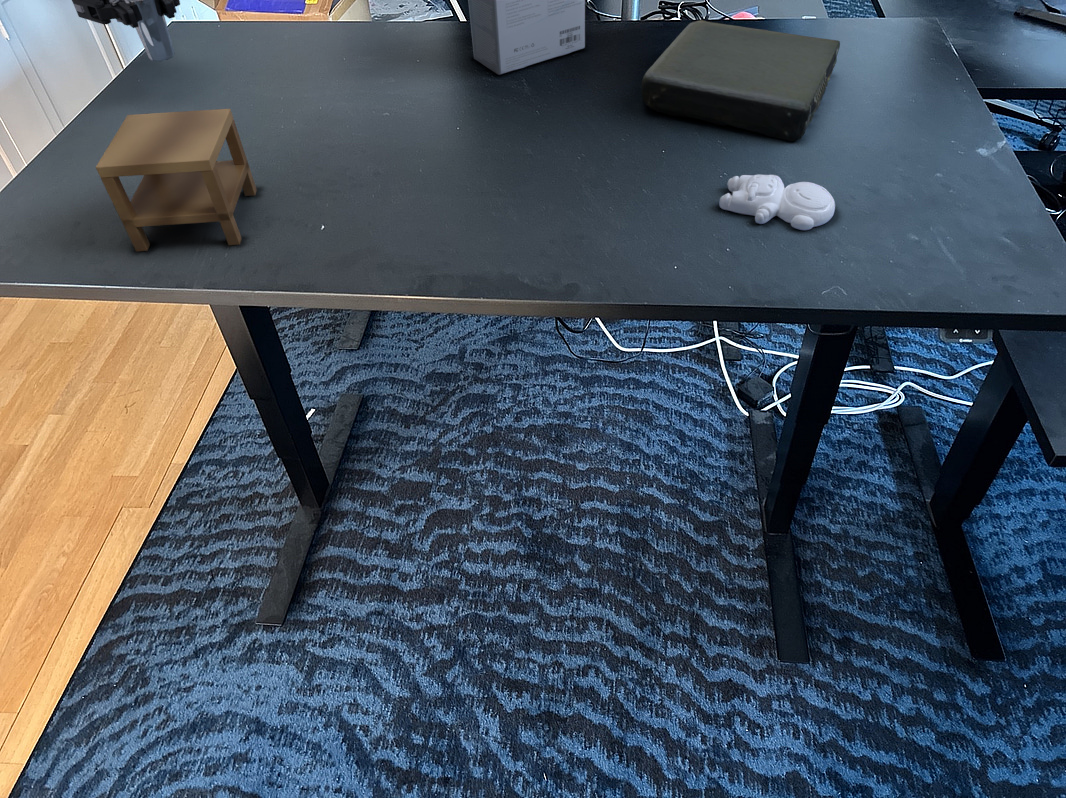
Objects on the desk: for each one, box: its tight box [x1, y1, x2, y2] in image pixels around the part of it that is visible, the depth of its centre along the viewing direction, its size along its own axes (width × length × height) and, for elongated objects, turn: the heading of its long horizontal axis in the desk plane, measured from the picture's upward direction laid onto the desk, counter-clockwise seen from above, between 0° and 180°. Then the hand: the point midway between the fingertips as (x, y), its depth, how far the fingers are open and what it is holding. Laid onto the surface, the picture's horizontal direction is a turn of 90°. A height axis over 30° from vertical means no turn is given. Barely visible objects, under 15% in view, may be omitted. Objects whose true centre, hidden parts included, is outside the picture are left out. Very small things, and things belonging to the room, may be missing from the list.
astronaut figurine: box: [718, 173, 836, 231], centre depth 84 cm, size 9×12×3 cm
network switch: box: [640, 19, 841, 142], centre depth 102 cm, size 23×23×5 cm
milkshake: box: [122, 0, 175, 62], centre depth 100 cm, size 5×5×10 cm
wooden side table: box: [95, 108, 257, 253], centre depth 83 cm, size 11×11×10 cm
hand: (151, 14), depth 98 cm, fingers closed on milkshake, 4 cm apart
